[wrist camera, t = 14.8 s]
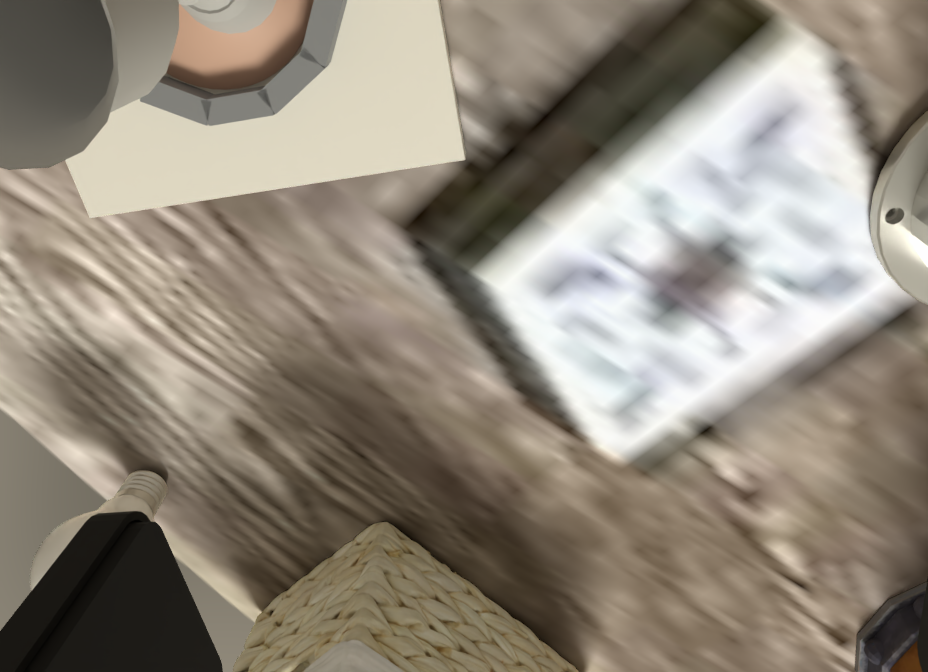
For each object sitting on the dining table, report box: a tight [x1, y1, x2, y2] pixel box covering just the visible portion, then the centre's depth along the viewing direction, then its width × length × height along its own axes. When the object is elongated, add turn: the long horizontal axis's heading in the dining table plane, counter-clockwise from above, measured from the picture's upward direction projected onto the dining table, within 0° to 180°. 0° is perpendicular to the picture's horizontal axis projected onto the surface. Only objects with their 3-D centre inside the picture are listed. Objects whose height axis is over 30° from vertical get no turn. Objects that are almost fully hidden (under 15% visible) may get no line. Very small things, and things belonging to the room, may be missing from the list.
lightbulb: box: [30, 470, 168, 591], centre depth 45 cm, size 6×6×11 cm
